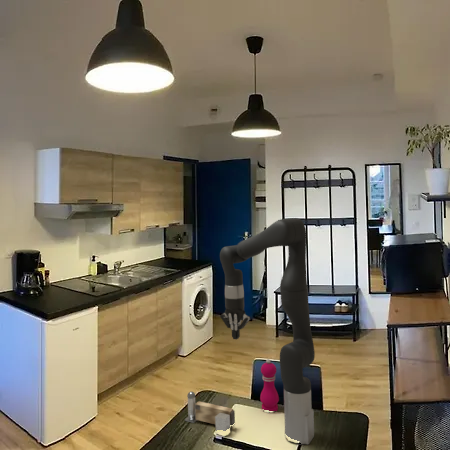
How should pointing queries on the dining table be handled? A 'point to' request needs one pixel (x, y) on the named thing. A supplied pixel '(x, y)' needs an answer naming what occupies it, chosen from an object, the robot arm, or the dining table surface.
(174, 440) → the dining table surface
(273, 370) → the pepper mill
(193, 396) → the hinge post
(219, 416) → the grey block
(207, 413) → the gate
